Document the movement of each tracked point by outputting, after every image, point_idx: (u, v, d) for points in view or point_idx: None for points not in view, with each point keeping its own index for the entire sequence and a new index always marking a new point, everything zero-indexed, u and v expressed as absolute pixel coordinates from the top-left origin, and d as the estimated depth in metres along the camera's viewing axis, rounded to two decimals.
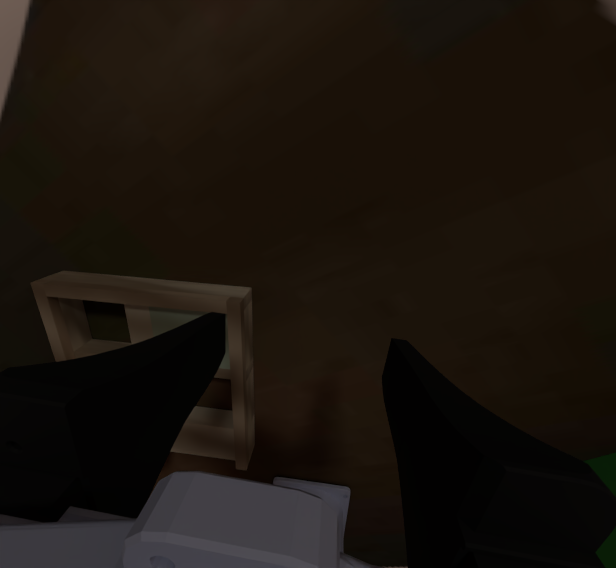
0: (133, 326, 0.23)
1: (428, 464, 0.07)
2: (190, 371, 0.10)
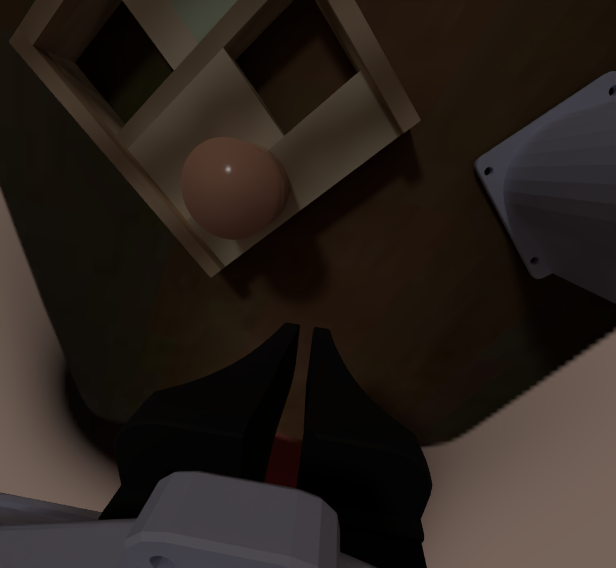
0: (139, 9, 0.16)
1: None
2: (281, 386, 0.10)
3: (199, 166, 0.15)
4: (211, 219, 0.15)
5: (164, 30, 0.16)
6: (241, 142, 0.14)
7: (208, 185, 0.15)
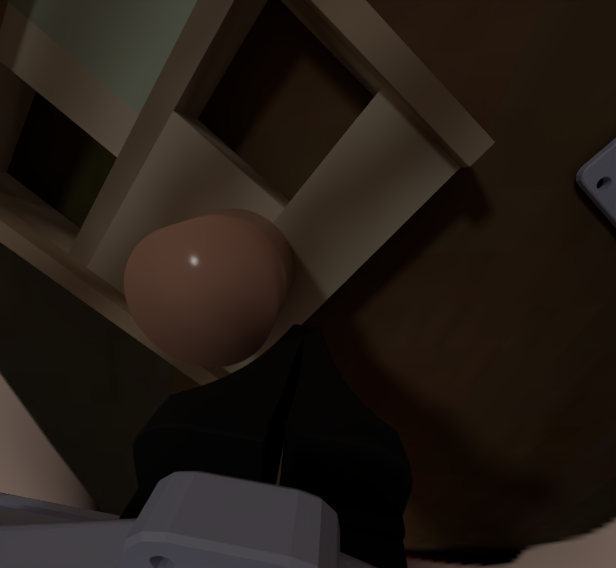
0: (52, 89, 0.11)
1: None
2: (292, 387, 0.10)
3: (147, 273, 0.09)
4: (182, 344, 0.10)
5: (91, 108, 0.11)
6: (203, 229, 0.08)
7: (166, 298, 0.09)
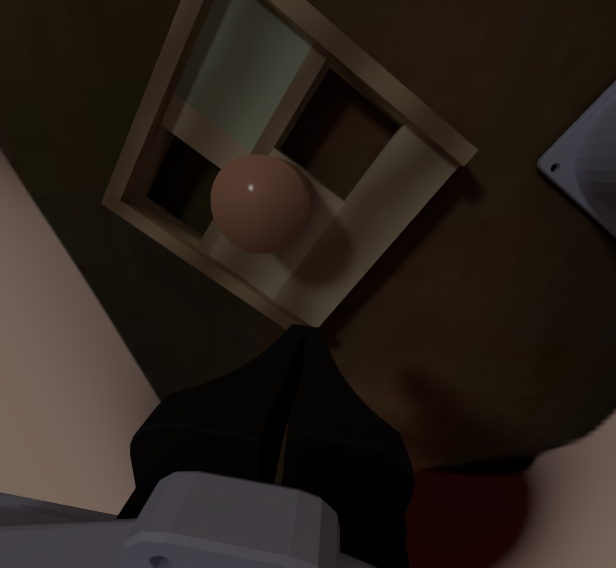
0: (196, 141, 0.18)
1: None
2: (290, 387, 0.10)
3: (227, 186, 0.15)
4: (243, 236, 0.16)
5: (220, 150, 0.18)
6: (266, 157, 0.14)
7: (237, 203, 0.15)
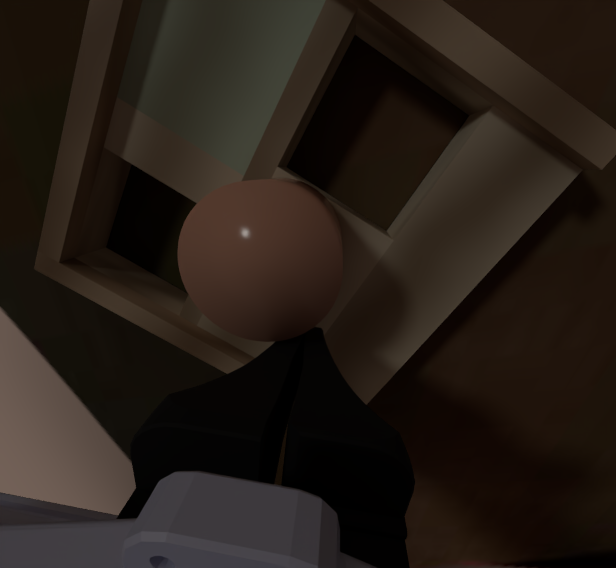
0: (160, 168, 0.12)
1: None
2: (290, 387, 0.10)
3: (203, 239, 0.09)
4: (239, 316, 0.09)
5: (197, 178, 0.12)
6: (267, 185, 0.08)
7: (223, 266, 0.09)
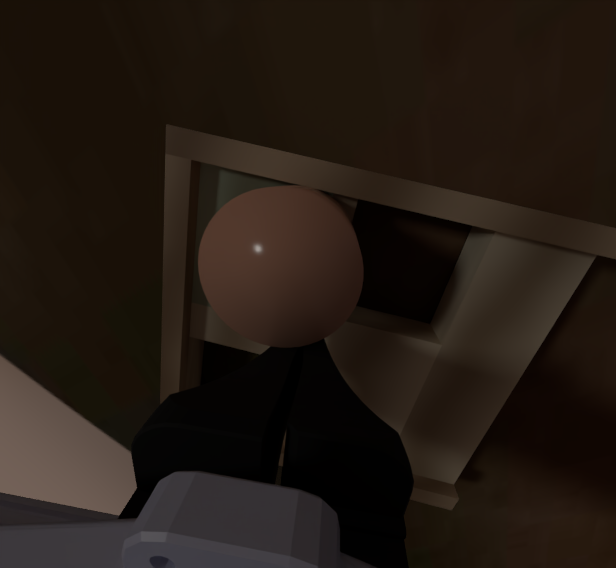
0: (234, 339, 0.15)
1: None
2: (291, 387, 0.10)
3: (226, 241, 0.08)
4: (254, 320, 0.09)
5: None
6: (297, 192, 0.08)
7: (244, 269, 0.09)
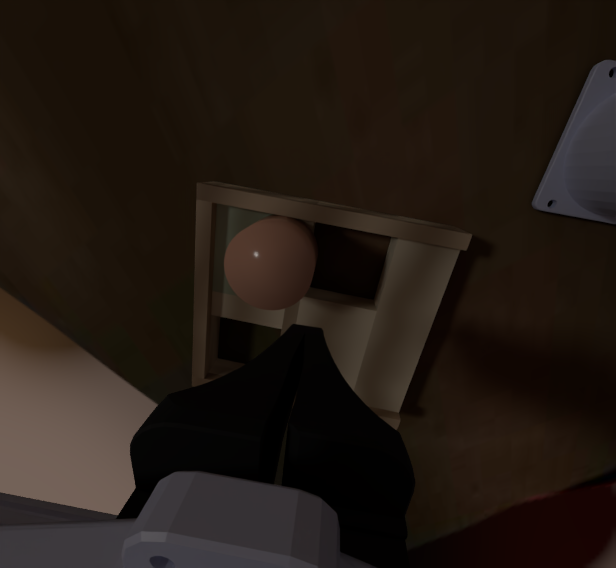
0: (241, 315, 0.22)
1: None
2: (290, 387, 0.10)
3: (238, 254, 0.16)
4: (257, 296, 0.17)
5: (262, 314, 0.22)
6: (272, 226, 0.15)
7: (249, 268, 0.16)
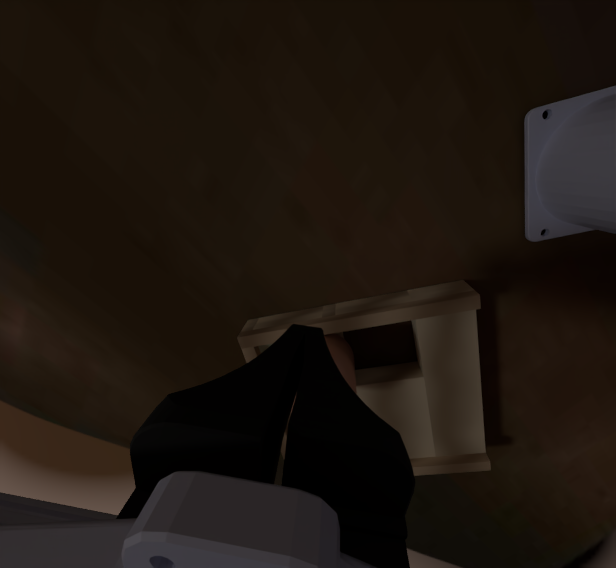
0: None
1: None
2: (290, 387, 0.10)
3: None
4: None
5: None
6: None
7: None
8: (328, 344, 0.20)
